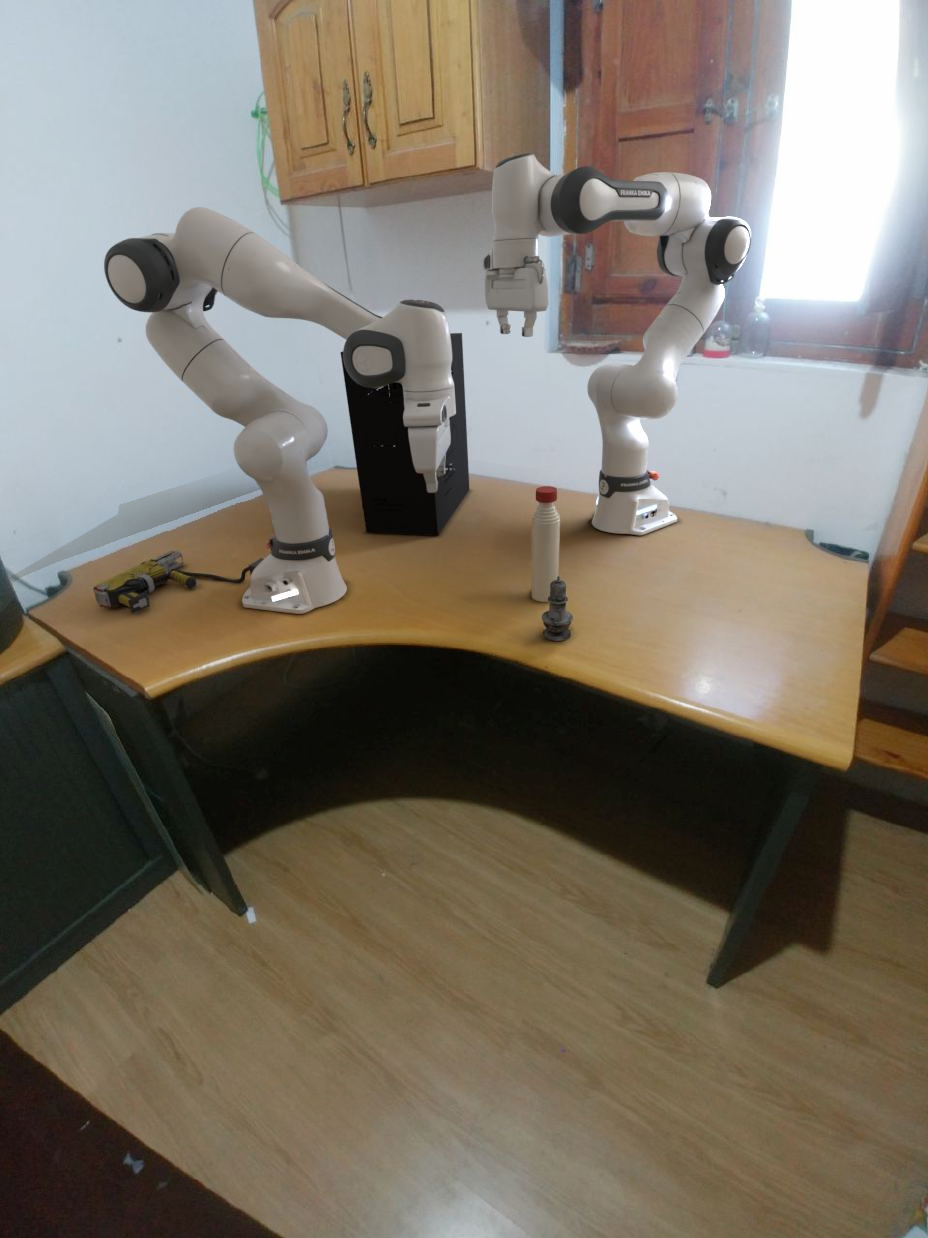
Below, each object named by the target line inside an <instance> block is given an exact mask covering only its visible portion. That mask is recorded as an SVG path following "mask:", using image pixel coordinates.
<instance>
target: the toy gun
mask: <svg viewBox="0 0 928 1238" xmlns="http://www.w3.org/2000/svg"><path fill="white" fill-rule="evenodd" d="M180 558H181V562H179V561H177V560H178V559H180ZM144 562H145V563H143V562H142V563H143V564H141V563H140V564H141V565H140V564H139V565H136V566H134V567H132V568H130V569H128V570H126V571H124V572H122V573H119V574H117V575H115V576H113V577H111V578H109V579H107V580H104V581H103V582H101V583H98V584H96V585H95V586H93V587H92V590H93V593H94V596H95V600H96V602H97V605H99V606H100V607H101V608H105V609H108V608H115V607H121V606H127V607H129V609H130V614H136V613H138V612H141V611H142V610H145V609H147V608H150V607H151V605H150V601H149V596H148V595H150V594H151V593H153V592H154V591H155V589H156V588H155V587H158V586H160V585H163V584H165V583H168V581H172V582H175V583H178V584H180V585H182V586H185V587H187V588H188V589H193V588H195V587H196V586H197V580H196V579H197V578H196V577H194V576H187V575H184V574H182V573H179V572H177V571H171V570H172V569H176V570H178V568H180V567H183V566H185V565H184V564H185V562H184V558H183V554H182V552H181V551H178V550H177V551H175V550H174V549H172V550H170V551H168V552H166V553H164V554H161V555H159V556H157V557H156V558H153V559H152V558H151V559H149V560H147V561H144Z"/></svg>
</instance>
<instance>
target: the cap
mask: <svg viewBox="0 0 928 1238" xmlns="http://www.w3.org/2000/svg"><path fill="white" fill-rule="evenodd" d="M535 500H536V502H538V503H539V502H541V503H552V502H553V503H555V502H556V501H557V500H558V489H557V487H555V486H550V485H544V486H539V487H537V488H536V489H535Z"/></svg>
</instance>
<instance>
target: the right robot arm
mask: <svg viewBox="0 0 928 1238" xmlns="http://www.w3.org/2000/svg"><path fill="white" fill-rule="evenodd" d="M711 200H712V194H711V189H710V186H709V185H708V183H707V182H706V181H705V180H704V179H703V178H701V177H698V176H695V175H692V174H689V173H682V172H675V171H673V172H672V171H660V172H659V171H658V172H651V173H646V174H641V175H640V176H637V177H635V178H633V179H632V180H624V179H623V180H621V179H613V178H610V177H609V176H607V175H606V174H604V173H603V172H601V171H600V170H599V169H596V168H594V167H592V166H585V165H584V166H579V167H577V168H575V169H573V170H569V171H568V172H566V173H565V172H564V173H562V174H559V175H558V174H556V173H554V172H552V171H551V170H549V169H547V168H546V167H545V166H543V165H542V163H540V161H539V160H538V159H537V157H536V156H535V153H531V152H525V153H520V154H517V155H513V156H509V157H507V158H504V159H501V160H500V161H499V162H497V164H496V165H495V167H494V170H493V174H492V183H491V216H492V220H493V227H494V228H493V235H492V248H491V249H490V250H489V252H488V253H487V254H486V255H485V256H484V257H483V258H482V269H483V271H485V273H484V297H485V304H486V306H487V307H486V308H487V309H488V310H492V311H496V318H497V321H498V323H499V324H498V325H499V333H500V335H510V334H511V324H509V318H508V316H509V312H523V318H524V323H523V326H522V327H521V336H522V337H523V338H531V337H533V335H534V326H535V324H536V320H537V318H538V316H537V315H538V314H537V313H540V312H546V311H547V310H548V308H549V307H548V306H549V303H550V297H549V296H550V295H549V279H548V278H549V277H548V273H547V269H546V268H545V263H544V262H543V260H542V258H541V256H539V236H542V237H546V238H547V237H549V238H550V237H557V236H558V237H560V236H566V235H567V236H568V235H585V234H586V235H587V234H589V233H592V232H594V231H595V230H597V229H598V228H600V227H602V226H603V225H605V224H606V223H608V222H623V224H624V226H625V227H626V230H628V232H629V233H631V234H634V235H639V236H645V237H658V242H657V248H656V259H657V264H658V267H659V269H660V270H661V271H662V272H663V273H664V274H666V275H669V276H672V277H682V279H681V283H680V285H679V287H678V289H677V291H676V292H675V294H674V295H673V296H672V297H671V298H670V300H669V301H668V302H667V303H666V305H665V306H664V307H663V308H662V310H661V311H660V313H659V314H658V315H657V316H656V318H655V319H654V320H653V322H652V323H651V324H650V326H649V327H647V330H646V331H645V332H644V335H643V337H642V345H643V350H644V351H643V353H642V356H641V358H640V359H639V360H638V361H637V363H635V364H625V363H619V362H615V363H614V362H613V363H607V364H604V365H601V366H597V368H595V369H594V371H593V372H591V374H590V376H589V378H588V380H587V395H588V398H589V399H590V401H591V402H592V404H593V406H594V408H595V411H596V414H597V417H598V418H597V419H598V421H599V427H600V432H601V440H602V447H601V448H602V449H601V450H602V451H601V468H600V470H599V474H598V492H599V493H598V495H597V498H596V502H595V505H596V507H595V511H594V514H593V517H592V520H591V525H592V526H593V527H594V528H595V529H597V530H599V531H601V532H605V533H611V534H623V535H625V534H626V535H632V536H633V535H634V536H645V535H646V534H650V533H652V532H654V531H657V530H660V529H662V528H665V527H668V526H670V525H672V524H675V523H677V522H678V516H677V515H676V514H675V513H674V512H672V511H670V503H669V502H670V501H669V498H668V497H667V496H666V495H665V494H664V493H663V492H661V491H660V490H659V489H658V488H656V487H655V486H654V485H652V483H651V480H653V481H658V479H659V478H660V473H659V472H657V471H654V470H651V471H649V470H648V469H647V466H648V458H649V457H648V455H649V446H650V441H649V437H648V435H647V434H646V432H645V431H644V429H643V427H642V424H641V420H656V419H662V418H664V417H666V416H667V415H669V413H670V412H671V411H672V410H673V408H674V406H675V405H676V402H677V399H678V395H679V389H678V388H679V387H678V383H677V377H678V373H679V371H680V368H681V366H682V365H683V363H684V361H685V359H686V358H687V357H688V355H689V354H690V353H691V352H692V350H693V348H694V347H695V346H696V345H697V343H698V342H699V340H701V338H702V337H703V336H704V335H705V333H706V331H707V330H708V328H709V327H710V325H711V324H712V322H713V321H714V319H715V318H716V316H717V315H718V313H719V311H720V309H721V307H722V305H723V303H724V300H725V288H724V285H725V284H727V283H729V282H730V281H732V280H733V279H734V278H735V275H736V274H737V271H738V270H739V269H740V268H741V267H742V265H743V263H744V262H745V260H746V258H747V256H748V254H749V252H750V249H751V243H752V231H751V228H750V225H749V224H748V223H747V222H746V221H745V220H743V219H741V218H738V217H736V216H724V217H710V215H709V210H710V207H711Z"/></svg>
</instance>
